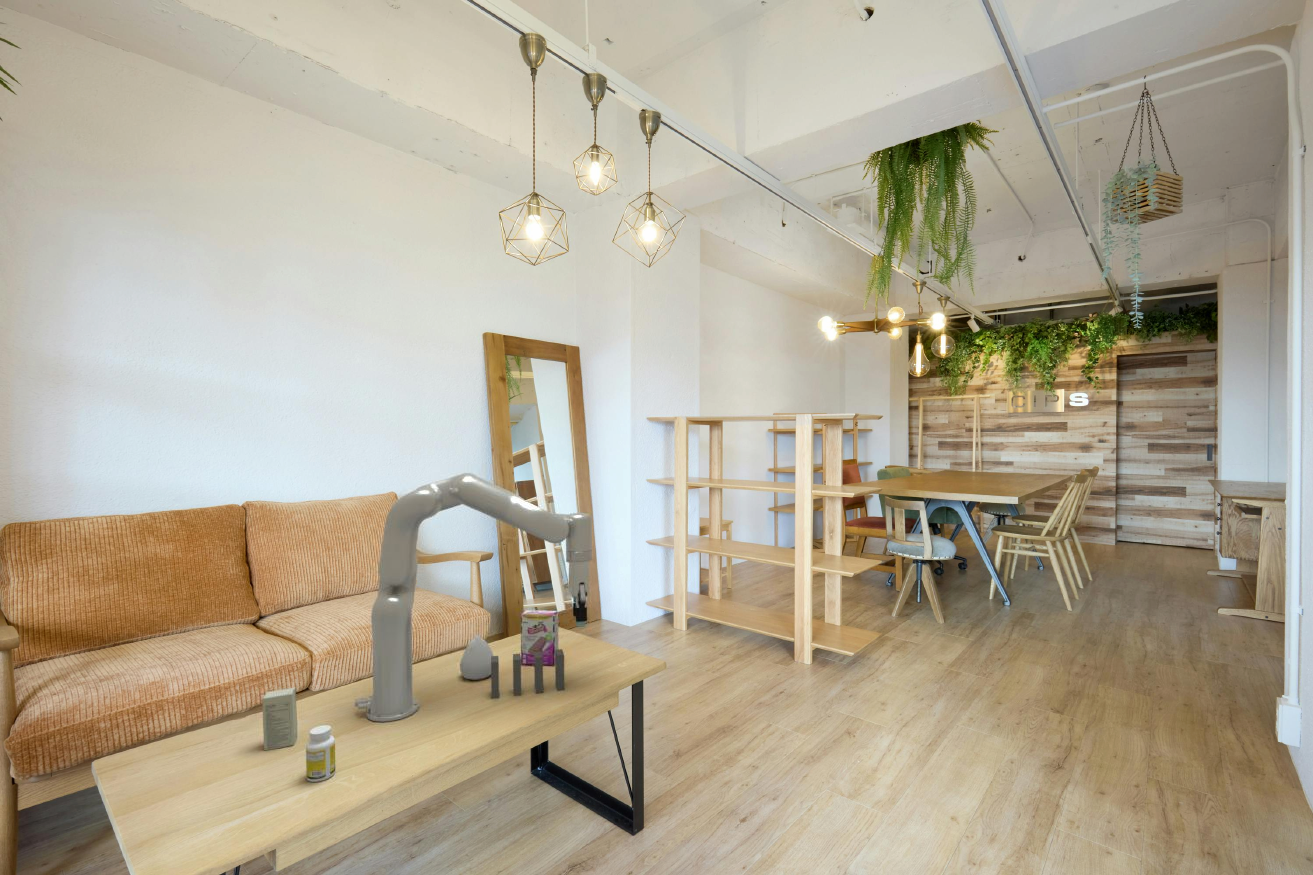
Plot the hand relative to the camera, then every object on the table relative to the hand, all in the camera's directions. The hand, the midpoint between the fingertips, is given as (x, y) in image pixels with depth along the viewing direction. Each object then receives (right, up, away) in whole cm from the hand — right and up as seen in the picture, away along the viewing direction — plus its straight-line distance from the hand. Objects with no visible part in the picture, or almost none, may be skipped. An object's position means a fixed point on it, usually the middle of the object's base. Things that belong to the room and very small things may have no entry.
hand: (580, 617), depth 174 cm
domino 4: (-6, -19, -2) cm, 20 cm away
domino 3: (-11, -19, -3) cm, 23 cm away
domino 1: (-23, -20, -7) cm, 31 cm away
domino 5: (0, -2, 0) cm, 2 cm away
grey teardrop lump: (-32, -20, +7) cm, 39 cm away
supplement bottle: (-49, -20, -47) cm, 71 cm away
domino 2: (-17, -20, -5) cm, 26 cm away
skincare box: (-66, -20, -33) cm, 77 cm away
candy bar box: (-15, -20, +17) cm, 30 cm away
